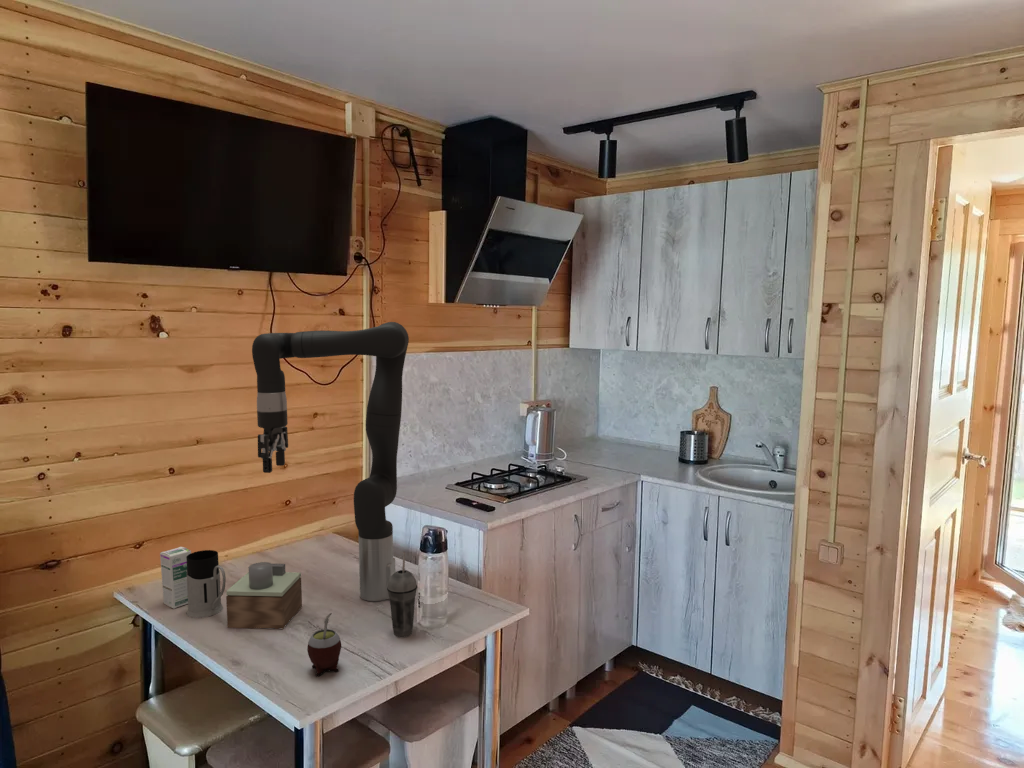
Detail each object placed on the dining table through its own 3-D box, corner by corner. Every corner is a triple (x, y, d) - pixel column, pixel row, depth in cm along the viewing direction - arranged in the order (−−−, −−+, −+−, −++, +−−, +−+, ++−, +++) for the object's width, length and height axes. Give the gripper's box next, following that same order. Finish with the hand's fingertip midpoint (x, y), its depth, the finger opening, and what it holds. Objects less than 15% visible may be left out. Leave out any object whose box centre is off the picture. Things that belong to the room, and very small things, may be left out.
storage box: (302, 606, 180) (301, 577, 180) (282, 629, 168) (281, 597, 167) (250, 605, 181) (249, 576, 180) (227, 627, 168) (226, 596, 168)
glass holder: (211, 600, 184) (208, 547, 183) (242, 614, 176) (239, 557, 174) (179, 612, 177) (176, 556, 176) (210, 626, 169) (207, 568, 167)
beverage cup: (381, 636, 163) (380, 556, 161) (398, 624, 170) (396, 546, 168) (408, 642, 161) (406, 560, 159) (423, 629, 167) (422, 550, 165)
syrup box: (173, 609, 179) (170, 556, 177) (162, 603, 182) (159, 551, 181) (194, 602, 183) (192, 550, 182) (183, 596, 187) (180, 545, 185)
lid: (301, 576, 180) (300, 563, 179) (281, 596, 167) (281, 582, 166) (249, 575, 180) (248, 562, 180) (226, 595, 168) (225, 581, 167)
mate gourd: (320, 659, 153) (318, 595, 151) (351, 664, 151) (349, 599, 149) (300, 676, 146) (298, 609, 144) (333, 681, 144) (330, 613, 142)
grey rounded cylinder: (255, 580, 174) (254, 561, 174) (276, 581, 174) (275, 562, 173) (245, 589, 169) (244, 570, 168) (267, 590, 168) (266, 570, 168)
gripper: (275, 412, 173) (277, 475, 174) (295, 405, 187) (297, 463, 189) (246, 412, 173) (248, 475, 175) (269, 405, 187) (271, 462, 189)
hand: (274, 468), depth 182 cm, fingers open, 8 cm apart
